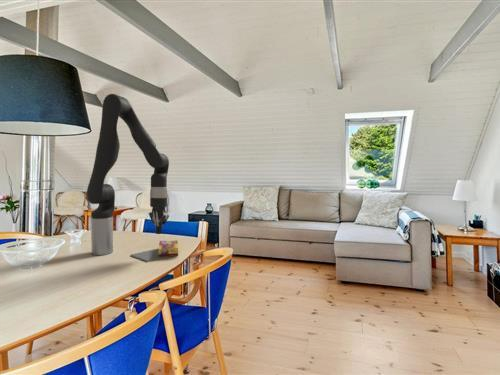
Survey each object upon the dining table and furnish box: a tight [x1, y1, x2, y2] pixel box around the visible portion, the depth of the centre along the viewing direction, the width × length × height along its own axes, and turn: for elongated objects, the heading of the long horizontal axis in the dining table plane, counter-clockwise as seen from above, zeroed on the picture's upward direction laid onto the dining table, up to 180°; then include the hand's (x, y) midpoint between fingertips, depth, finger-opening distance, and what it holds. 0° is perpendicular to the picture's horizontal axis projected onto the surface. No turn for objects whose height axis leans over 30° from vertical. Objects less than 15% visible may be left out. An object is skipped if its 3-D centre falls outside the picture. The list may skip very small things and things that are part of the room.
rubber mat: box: [130, 247, 170, 263], centre depth 136 cm, size 14×16×1 cm
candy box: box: [158, 239, 179, 258], centre depth 138 cm, size 9×4×15 cm
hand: (158, 233), depth 133 cm, fingers closed
